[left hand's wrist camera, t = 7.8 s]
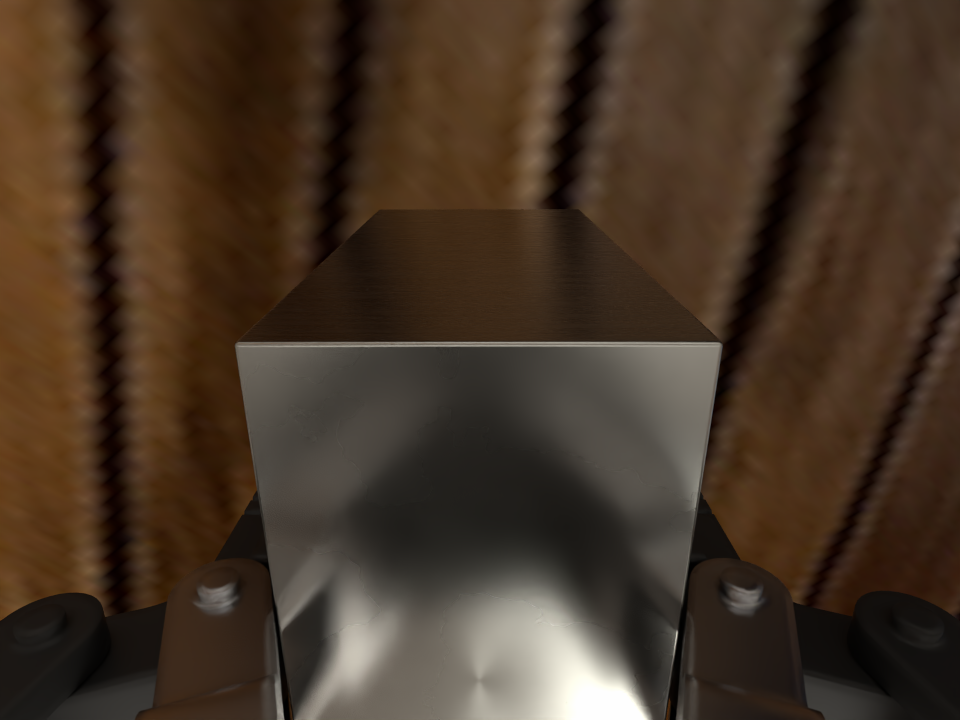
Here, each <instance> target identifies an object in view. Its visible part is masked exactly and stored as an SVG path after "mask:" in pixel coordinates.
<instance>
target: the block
mask: <svg viewBox="0 0 960 720" xmlns="http://www.w3.org/2000/svg"><path fill="white" fill-rule="evenodd" d="M722 346H723V345H722V342H721V341H720V340H719V339H718V338H717V337H716V336H715V335H714V334H713V333H712V332H711V331H709V330H708V329H707V328H706V327H705V326H704V325H703V324H702V323H701V322H700V321H699V320H698V319H697V318H695V317H694V316H693V315H692V314H691V313H690V312H689V311H688V310H687V309H686V308H685V307H684V306H682V305H681V304H680V303H679V302H678V301H677V300H676V299H675V298H674V297H673V296H672V295H671V294H670V293H668V292H667V291H666V290H665V289H664V288H663V287H662V286H661V285H660V284H659V283H658V282H657V281H656V280H654V279H653V278H652V277H651V276H650V275H649V274H648V273H647V272H646V271H645V270H644V269H643V268H641V267H640V266H639V265H638V264H637V263H636V262H635V261H634V260H633V259H632V258H631V257H630V256H629V255H627V254H626V253H625V252H624V251H623V250H622V249H621V248H620V247H619V246H618V245H617V244H616V243H615V242H613V241H612V240H611V239H610V238H609V237H608V236H607V235H606V234H605V233H604V232H603V231H602V230H600V229H599V228H598V227H597V226H596V225H595V224H594V223H593V222H592V221H591V220H590V219H589V218H588V217H586V216H585V215H584V214H583V213H582V212H581V211H580V210H578V209H564V210H379V211H378V212H377V213H376V214H375V215H373V216H372V217H371V218H370V219H369V220H368V221H367V222H366V223H365V224H364V225H363V226H362V227H360V228H359V229H358V230H357V231H356V232H355V233H354V234H353V235H352V236H351V237H350V238H348V239H347V240H346V241H345V242H344V243H343V244H342V245H341V246H340V247H339V248H338V249H337V250H335V251H334V252H333V253H332V254H331V255H330V256H329V257H328V258H327V259H326V260H325V261H324V262H322V263H321V264H320V265H319V266H318V267H317V268H316V269H315V270H314V271H313V272H312V273H310V274H309V275H308V276H307V277H306V278H305V279H304V280H303V281H302V282H301V283H300V284H299V285H297V286H296V287H295V288H294V289H293V290H292V291H291V292H290V293H289V294H288V295H287V296H285V297H284V298H283V299H282V300H281V301H280V302H279V303H278V304H277V305H276V306H275V307H274V308H272V309H271V310H270V311H269V312H268V313H267V314H266V315H265V316H264V317H263V318H262V319H261V320H259V321H258V322H257V323H256V324H255V325H254V326H253V327H252V328H251V329H250V330H249V331H247V332H246V333H245V334H244V335H243V336H242V337H241V338H240V339H239V340H238V341H237V342H236V343H235V350H236V356H237V363H238V369H239V375H240V382H241V388H242V395H243V401H244V408H245V414H246V420H247V427H248V433H249V440H250V446H251V453H252V459H253V465H254V472H255V478H256V485H257V491H258V498H259V504H260V510H261V517H262V523H263V530H264V536H265V543H266V549H267V555H268V562H269V568H270V575H271V581H272V588H273V594H274V600H275V607H276V613H277V620H278V626H279V632H280V639H281V645H282V652H283V658H284V665H285V671H286V677H287V684H288V690H289V697H290V703H291V710H292V716H293V720H666V714H667V707H668V701H669V694H670V688H671V681H672V674H673V668H674V661H675V655H676V648H677V642H678V635H679V628H680V622H681V615H682V609H683V602H684V596H685V589H686V582H687V576H688V569H689V563H690V556H691V550H692V543H693V537H694V530H695V523H696V517H697V510H698V504H699V497H700V491H701V484H702V477H703V471H704V464H705V458H706V451H707V445H708V438H709V431H710V425H711V418H712V412H713V405H714V399H715V392H716V385H717V379H718V372H719V366H720V359H721V353H722Z"/></svg>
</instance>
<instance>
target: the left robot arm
mask: <svg viewBox="0 0 960 720" xmlns="http://www.w3.org/2000/svg"><path fill="white" fill-rule="evenodd" d="M288 692H289V690H288V684H287V677H286V671H285V665H284V658H283V652H282V645H281V639H280V632H279V626H278V620H277V613H276V607H275V600H274V594H273V588H272V581H271V575H270V568H269V562H268V555H267V549H266V543H265V536H264V530H263V523H262V517H261V510H260V504H259V498H258V491H256V493H255V494H254V496H253V500H251V501H250V503H249V505H248V506H247V508H246V510H245V513H244V515H242V516H241V518H240V520H239V521H238V523H237V525H236V526H235V528H234V530H233V531H232V533H231V535H230V536H229V538H228V540H227V541H226V543H225V545H224V546H223V548H222V550H221V551H220V553H219V555H218V557H217V558H216V560H215V561H214V562H211V563H209V564H206V565H203V566H201V567H199V568H197V569H195V570H194V571H192V572H190V573H189V574H187V575H186V576H185V577H183V578H182V579H181V580H180V581H179V582H178V583H177V584H176V585H175V587H174V588H173V589H172V591H171V593H170V595H169V597H168V600H167V602H164V603H161V604H158V605H155V606H151V607H148V608H144V609H139V610H135V611H130V612H126V613H122V614H117V615H113V616H109V617H105V615H104V611H103V608H102V605H101V603H100V602H99V601H98V599H97V598H95V597H93V596H91V595H88V594H84V593H64V594H58V595H54V596H49V597H46V598H43V599H40V600H37V601H35V602H32V603H30V604H28V605H26V606H24V607H22V608H20V609H18V610H16V611H15V612H13V613H11V614H10V615H8V616H7V617H5V618H4V619H3V620H1V621H0V720H292V716H291V708H290V702H289V696H288ZM669 698H670V701H671V702H670V708H669V716H668V720H960V621H959V620H957V619H956V618H955V617H953V616H952V615H951V614H949V613H948V612H946V611H944V610H943V609H941V608H939V607H938V606H936V605H934V604H932V603H930V602H928V601H925V600H923V599H920V598H917V597H914V596H911V595H908V594H904V593H899V592H892V591H875V592H870V593H867V594H865V595H863V596H861V597H860V598H859V599H858V601H857V603H856V605H855V609H854V612H853V616H852V617H851V616H847V615H843V614H838V613H834V612H830V611H825V610H821V609H816V608H812V607H808V606H804V605H800V604H797V603H794V602H793V601H792V597H791V595H790V593H789V591H788V589H787V588H786V587H785V585H784V584H783V583H782V582H781V581H780V580H779V579H778V578H777V577H775V576H774V575H773V574H771V573H770V572H768V571H766V570H765V569H763V568H761V567H759V566H757V565H754V564H751V563H749V562H746V561H742V560H740V558H739V556H738V555H737V553H736V551H735V549H734V548H733V546H732V544H731V543H730V541H729V539H728V538H727V536H726V534H725V532H724V531H723V529H722V527H721V526H720V524H719V522H718V521H717V519H716V517H715V515H714V514H712V510H711V509H710V507H709V505H708V504H707V502H706V500H703V495H702V493H701V492H700V497H699V504H698V510H697V517H696V523H695V530H694V537H693V543H692V550H691V556H690V563H689V569H688V576H687V582H686V589H685V596H684V602H683V609H682V615H681V622H680V628H679V635H678V642H677V648H676V655H675V661H674V668H673V674H672V681H671V688H670V694H669Z"/></svg>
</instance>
